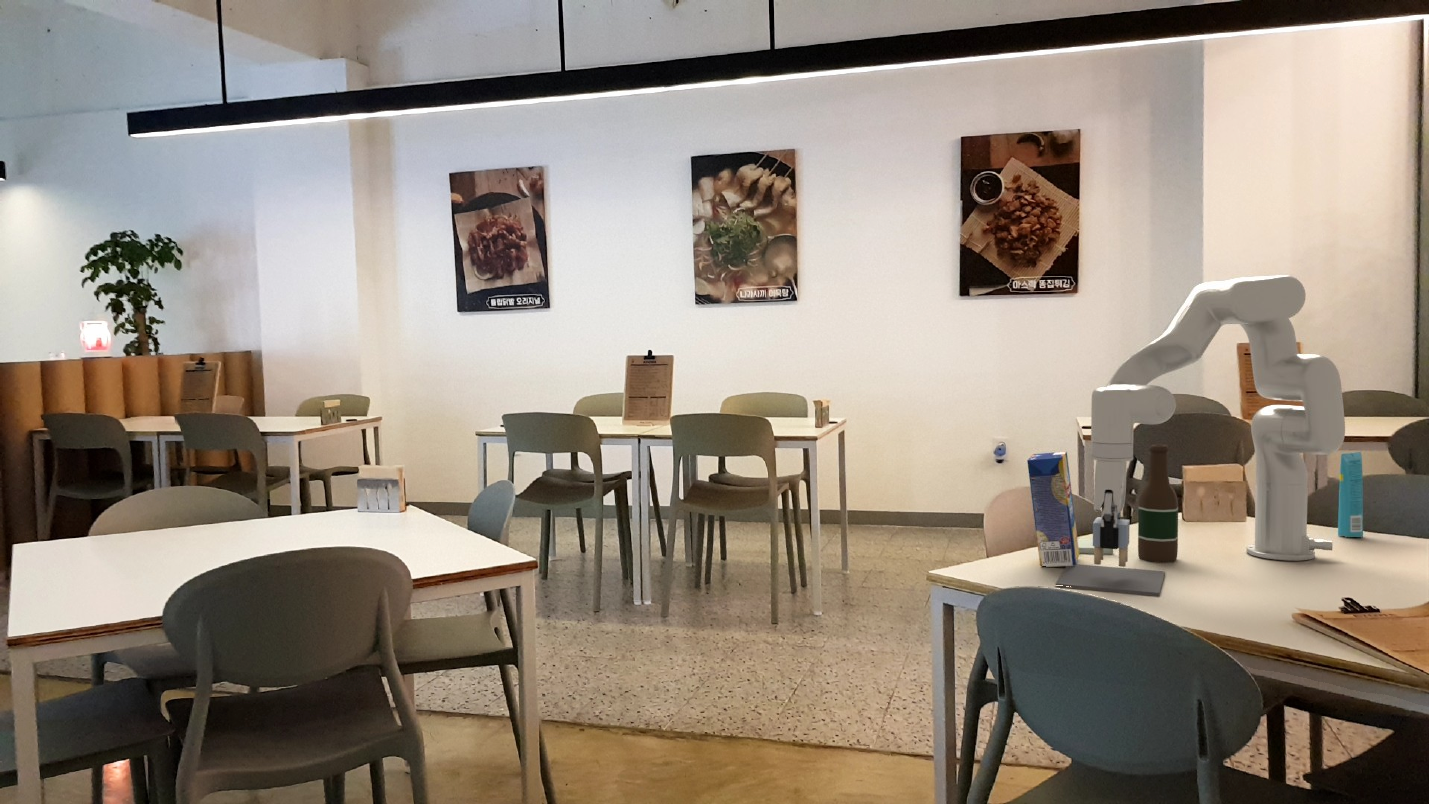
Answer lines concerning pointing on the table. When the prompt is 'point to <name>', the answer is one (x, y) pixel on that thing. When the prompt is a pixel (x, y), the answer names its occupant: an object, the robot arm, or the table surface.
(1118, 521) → the slate-blue stool
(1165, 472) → the beer bottle
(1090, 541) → the mint twin-peg base
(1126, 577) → the charcoal mat
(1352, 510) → the teal carton
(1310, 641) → the table surface
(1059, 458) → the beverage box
